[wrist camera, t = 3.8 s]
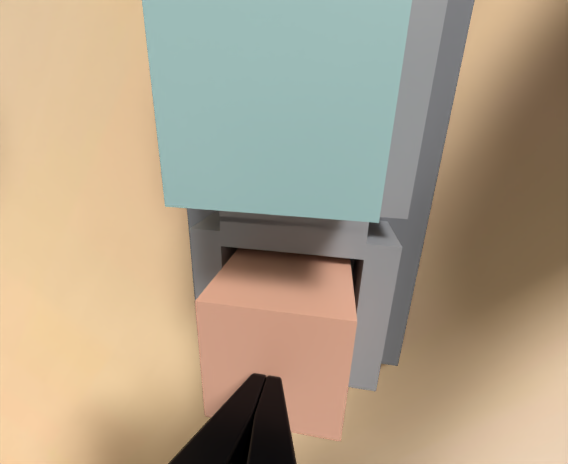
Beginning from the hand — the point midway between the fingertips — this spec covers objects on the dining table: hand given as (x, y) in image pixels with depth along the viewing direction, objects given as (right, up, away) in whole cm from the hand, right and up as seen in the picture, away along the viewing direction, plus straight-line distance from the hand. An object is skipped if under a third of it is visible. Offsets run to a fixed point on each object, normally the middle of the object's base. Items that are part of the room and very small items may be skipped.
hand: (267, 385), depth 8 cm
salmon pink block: (+1, +2, +5) cm, 5 cm away
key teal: (+1, +9, +2) cm, 9 cm away
